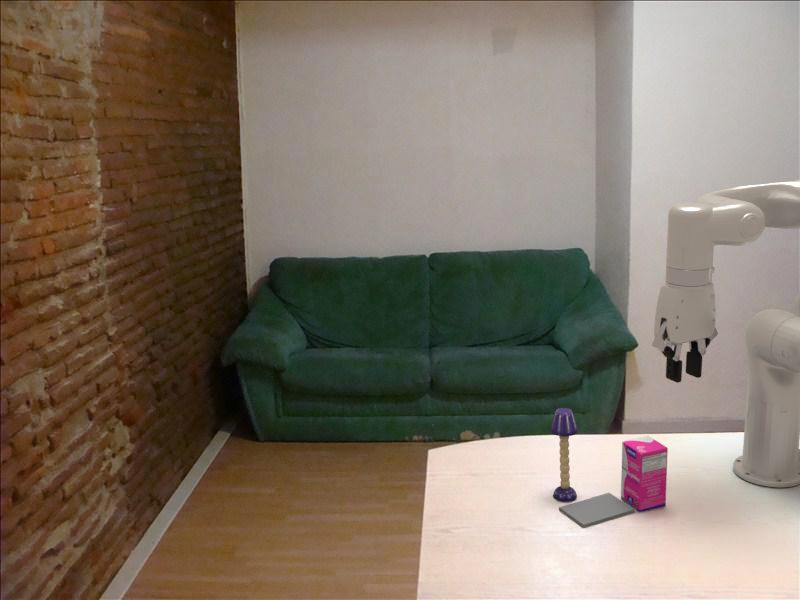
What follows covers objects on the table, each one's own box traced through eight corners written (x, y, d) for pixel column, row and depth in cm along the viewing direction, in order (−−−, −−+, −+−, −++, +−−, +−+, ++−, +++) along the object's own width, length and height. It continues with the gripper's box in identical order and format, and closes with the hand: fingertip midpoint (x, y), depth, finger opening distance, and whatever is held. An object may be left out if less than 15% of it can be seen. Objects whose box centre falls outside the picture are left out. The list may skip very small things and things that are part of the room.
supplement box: (619, 499, 157) (621, 440, 154) (646, 492, 159) (649, 434, 156) (638, 513, 152) (640, 453, 149) (667, 506, 153) (669, 446, 151)
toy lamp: (547, 499, 157) (548, 413, 153) (554, 488, 162) (555, 404, 157) (573, 504, 156) (575, 417, 151) (579, 492, 160) (581, 407, 155)
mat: (609, 495, 158) (609, 492, 158) (634, 512, 152) (635, 509, 152) (559, 510, 154) (559, 507, 153) (583, 528, 147) (583, 524, 147)
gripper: (709, 265, 155) (703, 363, 159) (635, 278, 148) (631, 380, 153) (742, 274, 148) (735, 375, 153) (666, 287, 141) (661, 393, 146)
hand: (683, 376), depth 153 cm, fingers open, 3 cm apart
